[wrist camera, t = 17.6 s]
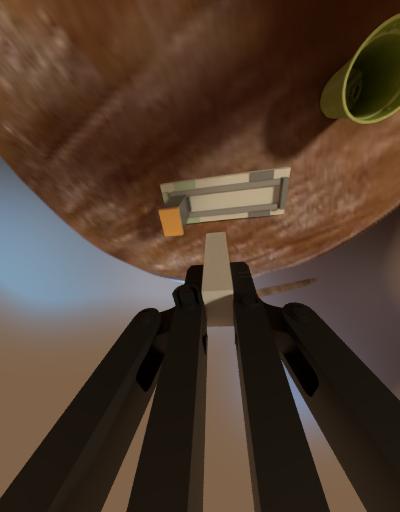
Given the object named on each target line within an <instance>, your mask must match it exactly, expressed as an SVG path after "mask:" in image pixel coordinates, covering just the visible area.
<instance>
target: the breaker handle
mask: <svg viewBox="0 0 400 512" xmlns="http://www.w3.org/2000/svg"><path fill="white" fill-rule="evenodd" d="M191 211H192V207H191V201H190V197H187V196H186V195H179V196H172V197H171V198H170V199H169V200H168V201H167V202H166V204H165V205H164V206H163V207H162V208H161V209H159V215H160V219H161V223H162V226H163V230H164V234H165V237H166V236H177V235H183V233H184V229H185V226H186V224H187V221H188V218H189V216H190V215H189V212H191Z"/></svg>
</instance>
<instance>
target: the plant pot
mask: <svg viewBox="0 0 400 512" xmlns="http://www.w3.org/2000/svg"><path fill="white" fill-rule="evenodd" d="M349 73H350V74H349ZM357 86H358V92H357V95H356V96H355V97H354V94H355V91H356V87H357ZM320 108H321V110H322V112H323V113H324V115H325V116H326V117H328V118H332V119H333V118H335V119H336V118H346V119H350V120H352V121H353V122H355V123H359V124H370V123H375V122H378V121H381V120H383V119H385V118H387V117H389V116H391V115H392V114H393V113H395V112H396V111H397V110H399V109H400V13H399V14H396V15H395V16H393V17H391V18H389V19H388V20H386V21H385V22H384V23H382V24H381V25H380V26H379V27H378V28H376V29H375V30H374V31H373V32H372V33H371V34H370V35H369V36H368V37H367V38H366V40H365V41H364V42H363V43H362V45H361V46H360V47H359V49H358V50H357V52H356V53H355V55H354V56H353V58H352V59H350V60H349V61H348V62H347V63H346V64H345V65H344V66H343V67H342V68H341V69H340V70H339V71H337V72H336V73H335V74H334V75H333V76H332V77H331V79H330V80H329V81H328V82H327V84H326V85H325V87H324V89H323V92H322V95H321V99H320Z"/></svg>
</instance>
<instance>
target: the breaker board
mask: <svg viewBox="0 0 400 512" xmlns="http://www.w3.org/2000/svg"><path fill="white" fill-rule="evenodd" d="M289 175H290V167H282V168H274V169H266V170H259V171H251V172H244V173H236V174H229V175H221V176H214V177H206V178H199V179H191V180H184V181H176V182H169V183H162V184H160V188H161V192H162V196H163V200H164V205H165V204H166V202H167V201H168V200H169V199H170V198H171V197H172V196H179V195H186V196H187V197H190V201H191V207H192V211H191V212H189V215H190V216H189V218H188V221H187V224H188V223H199V222H206V221H216V220H226V219H236V218H246V217H260V216H270V215H277V214H284V210H285V206H286V199H287V192H288V185H289Z"/></svg>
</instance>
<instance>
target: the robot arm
mask: <svg viewBox="0 0 400 512" xmlns="http://www.w3.org/2000/svg"><path fill="white" fill-rule="evenodd" d="M172 295H173V298H174V302H175V305H176V306H175V307H173V308H171V309H169V310H166V311H163V312H159V311H158V310H157V309H155V308H147V309H144V310H142V311H141V312H139V313H138V314H137V315H136V316H135V317H134V318H133V319H132V321H131V322H130V324H129V325H128V326H127V328H126V329H125V330H124V332H123V333H122V334H121V336H120V337H119V338H118V340H117V341H116V342H115V344H114V345H113V346H112V348H111V349H110V351H109V352H108V353H107V355H106V356H105V357H104V359H103V360H102V361H101V363H100V364H99V365H98V367H97V368H96V369H95V371H94V372H93V374H92V375H91V376H90V378H89V379H88V381H87V382H86V383H85V385H84V386H83V387H82V388H81V390H80V391H79V393H78V394H77V395H76V397H75V398H74V399H73V401H72V402H71V403H70V405H69V406H68V407H67V409H66V410H65V412H64V413H63V414H62V416H61V417H60V418H59V420H58V421H57V422H56V424H55V425H54V426H53V428H52V429H51V430H50V432H49V433H48V435H47V436H46V437H45V439H44V440H43V441H42V443H41V444H40V446H39V447H38V448H37V449H36V451H35V452H34V453H33V455H32V456H31V458H30V459H29V460H28V462H27V463H26V464H25V466H24V467H23V469H22V470H21V471H20V472H19V474H18V475H17V476H16V478H15V479H14V480H13V482H12V483H11V485H10V486H9V487H8V489H7V490H6V491H5V493H4V494H3V495H2V497H1V498H0V512H101V510H102V508H103V506H104V503H105V501H106V499H107V496H108V494H109V492H110V489H111V487H112V485H113V482H114V480H115V478H116V476H117V474H118V471H119V469H120V467H121V464H122V462H123V460H124V458H125V455H126V453H127V451H128V449H129V446H130V444H131V442H132V439H133V437H134V435H135V432H136V430H137V428H138V426H139V424H140V421H141V419H142V417H143V414H144V412H145V410H146V408H147V405H148V403H149V401H150V398H151V396H152V394H153V392H154V389H155V387H156V385H157V387H156V390H155V395H154V399H153V403H152V407H151V411H150V416H149V420H148V424H147V428H146V432H145V436H144V441H143V445H142V449H141V453H140V457H139V462H138V466H137V470H136V474H135V478H134V482H133V487H132V491H131V495H130V499H129V504H128V508H127V511H126V512H203V483H204V481H203V480H204V446H205V412H206V411H205V410H206V376H207V375H206V374H207V340H208V336H207V326H209V327H211V326H234V328H235V344H236V350H237V359H238V368H239V377H240V386H241V394H242V404H243V412H244V421H245V430H246V438H247V448H248V456H249V465H250V474H251V483H252V492H253V501H254V510H255V512H330V510H329V507H328V504H327V501H326V498H325V495H324V492H323V489H322V485H321V482H320V479H319V476H318V473H317V470H316V467H315V464H314V461H313V457H312V454H311V452H310V448H309V445H308V442H307V439H306V436H305V433H304V429H303V426H302V423H301V420H300V417H299V414H298V411H297V408H296V405H295V401H294V399H293V396H292V392H291V389H290V386H289V383H288V380H287V377H286V374H285V370H284V367H283V364H282V361H283V363H284V365H285V367H286V368H287V370H288V372H289V374H290V376H291V377H292V379H293V381H294V383H295V385H296V386H297V388H298V390H299V392H300V393H301V395H302V397H303V399H304V401H305V402H306V404H307V406H308V408H309V409H310V411H311V413H312V414H313V416H314V418H315V420H316V422H317V423H318V425H319V427H320V429H321V431H322V432H323V434H324V436H325V438H326V440H327V441H328V443H329V445H330V446H331V448H332V450H333V452H334V454H335V455H336V457H337V459H338V461H339V463H340V464H341V466H342V468H343V470H344V471H345V473H346V475H347V477H348V479H349V480H350V482H351V484H352V486H353V487H354V489H355V491H356V493H357V495H358V496H359V498H360V500H361V501H362V503H363V505H364V507H365V509H366V510H367V512H400V400H399V399H398V398H397V397H396V396H395V395H394V394H393V393H392V392H391V391H390V390H389V389H388V388H387V387H386V386H385V385H384V384H383V383H382V382H381V381H380V380H379V379H378V377H377V376H376V375H375V374H374V373H373V372H372V371H371V370H370V369H369V368H368V367H367V366H366V365H365V364H364V363H363V362H362V361H361V360H360V359H359V358H358V357H357V356H356V355H355V353H354V352H353V351H352V350H351V349H350V348H349V347H348V346H347V345H346V344H345V343H344V342H343V341H342V340H341V339H340V338H339V337H338V336H337V335H336V333H335V332H334V331H333V330H332V329H331V328H330V327H329V326H328V325H327V324H326V323H325V322H324V321H323V320H322V319H321V318H320V317H319V316H318V315H317V314H316V313H315V312H314V311H313V310H312V309H311V308H310V307H308V306H306V305H304V304H301V303H288V304H286V305H285V306H284V307H283V308H281V307H276V306H272V305H269V304H266V303H264V302H263V301H262V300H261V299H260V298H259V297H258V295H257V293H256V289H255V286H254V283H253V279H252V277H251V273H250V270H249V266H248V265H247V264H246V263H245V262H231V263H229V257H228V250H227V243H226V236H225V232H219V233H208V234H206V245H205V257H204V265H193V266H191V267H190V268H189V269H188V270H187V275H186V279H185V284H184V285H181V286H179V287H177V288H176V289H175V290H174V292H173V293H172ZM281 360H282V361H281Z"/></svg>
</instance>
